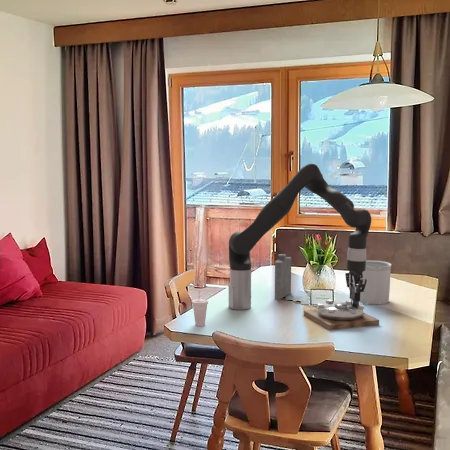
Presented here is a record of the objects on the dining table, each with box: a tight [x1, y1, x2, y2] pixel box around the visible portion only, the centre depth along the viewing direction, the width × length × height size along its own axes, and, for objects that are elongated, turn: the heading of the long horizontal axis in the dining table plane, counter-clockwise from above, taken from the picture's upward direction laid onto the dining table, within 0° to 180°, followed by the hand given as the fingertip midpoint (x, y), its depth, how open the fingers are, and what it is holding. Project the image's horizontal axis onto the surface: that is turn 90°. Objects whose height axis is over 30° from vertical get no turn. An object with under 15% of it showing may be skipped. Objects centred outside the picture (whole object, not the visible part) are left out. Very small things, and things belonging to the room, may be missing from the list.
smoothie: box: [191, 289, 209, 327], centre depth 227 cm, size 6×6×14 cm
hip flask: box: [274, 253, 292, 301], centre depth 274 cm, size 16×4×20 cm, turn 154°
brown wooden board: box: [303, 308, 380, 331], centre depth 234 cm, size 22×22×2 cm
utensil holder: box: [357, 260, 392, 305], centre depth 264 cm, size 15×15×18 cm
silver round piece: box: [317, 286, 365, 320], centre depth 233 cm, size 18×18×11 cm
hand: (354, 299), depth 236 cm, fingers closed on silver round piece, 3 cm apart
